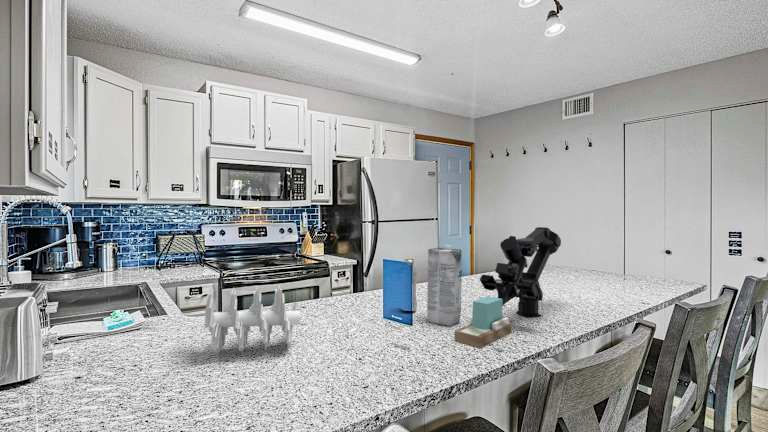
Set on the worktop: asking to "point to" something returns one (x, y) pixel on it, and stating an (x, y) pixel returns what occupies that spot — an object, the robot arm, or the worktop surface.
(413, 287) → the plastic bottle
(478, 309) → the teal block
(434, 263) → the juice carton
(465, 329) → the brown tray
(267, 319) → the white sculpted piece
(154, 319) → the worktop surface
